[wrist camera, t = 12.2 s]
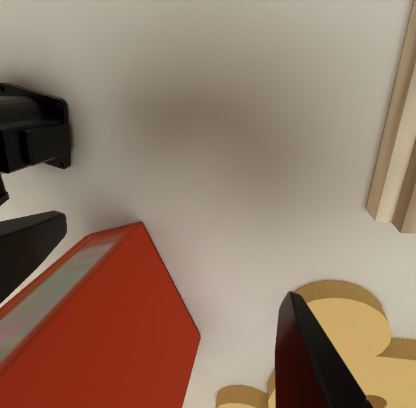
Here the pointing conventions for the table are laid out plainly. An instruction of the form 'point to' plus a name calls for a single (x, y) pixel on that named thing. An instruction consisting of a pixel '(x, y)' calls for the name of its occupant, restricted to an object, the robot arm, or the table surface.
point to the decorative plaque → (350, 349)
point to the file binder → (98, 330)
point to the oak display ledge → (398, 147)
